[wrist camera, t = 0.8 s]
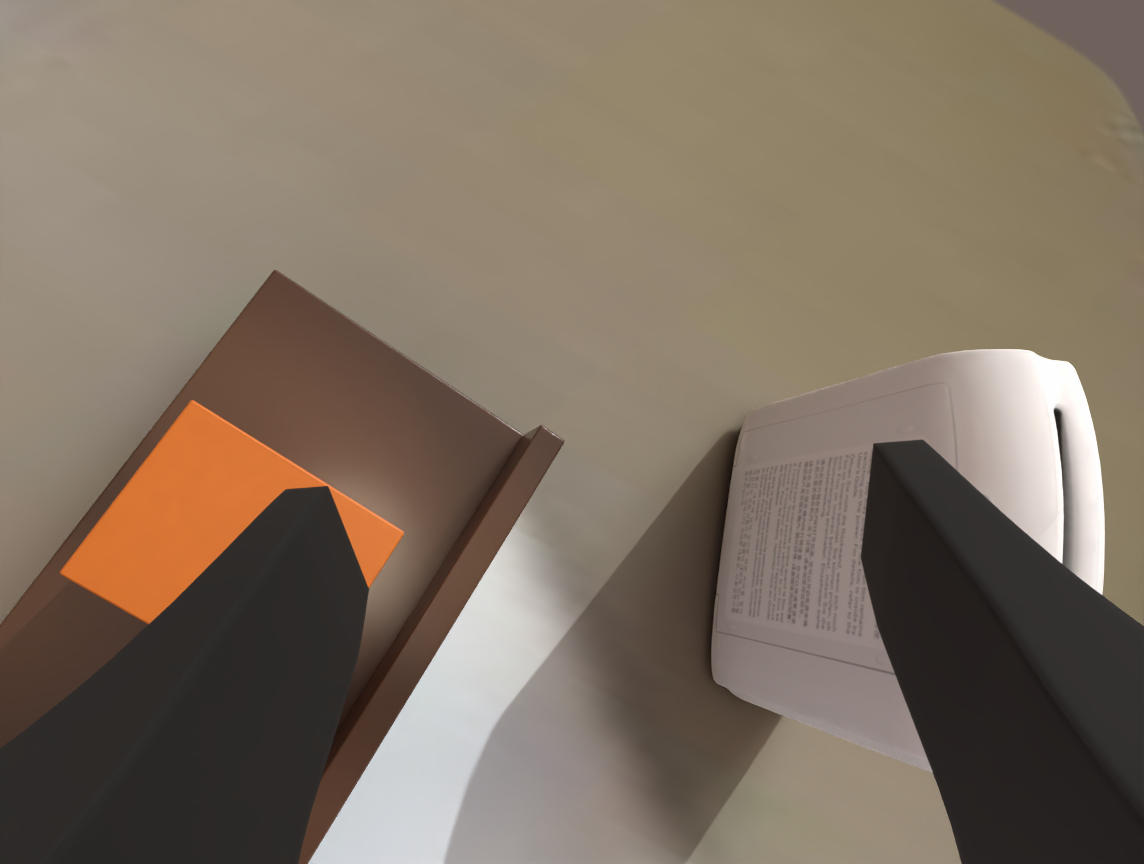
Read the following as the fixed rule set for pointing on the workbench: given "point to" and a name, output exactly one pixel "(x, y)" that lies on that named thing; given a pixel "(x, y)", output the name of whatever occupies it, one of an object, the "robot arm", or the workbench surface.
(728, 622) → the white boxy piece
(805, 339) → the workbench surface
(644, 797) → the workbench surface
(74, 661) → the shelf
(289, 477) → the packet
